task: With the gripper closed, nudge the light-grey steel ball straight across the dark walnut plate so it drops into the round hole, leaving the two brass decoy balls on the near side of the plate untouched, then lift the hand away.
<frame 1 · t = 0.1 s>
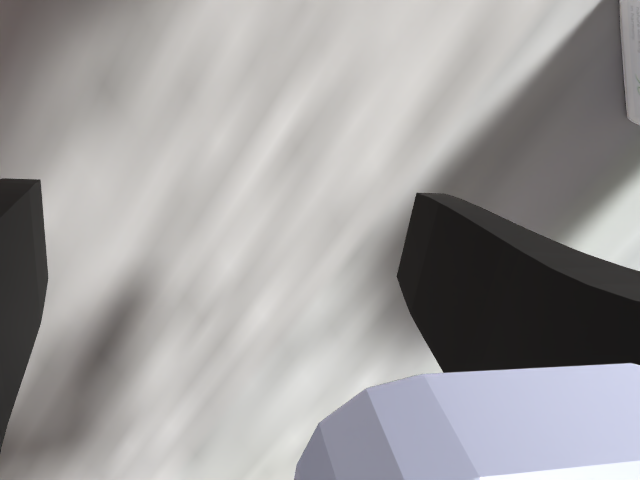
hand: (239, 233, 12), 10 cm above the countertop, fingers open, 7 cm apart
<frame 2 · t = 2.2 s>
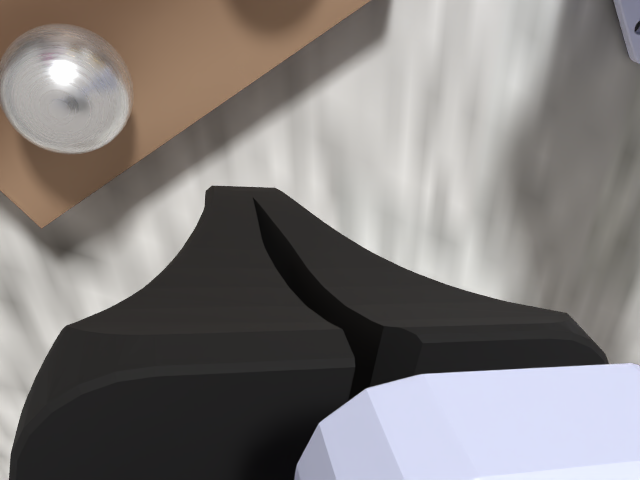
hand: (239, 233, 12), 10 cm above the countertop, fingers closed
steel ball: (67, 90, 15), point 4 cm above the countertop, touching walnut plate
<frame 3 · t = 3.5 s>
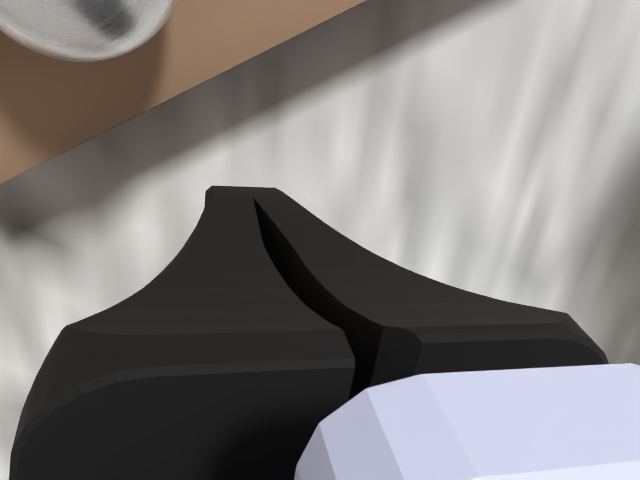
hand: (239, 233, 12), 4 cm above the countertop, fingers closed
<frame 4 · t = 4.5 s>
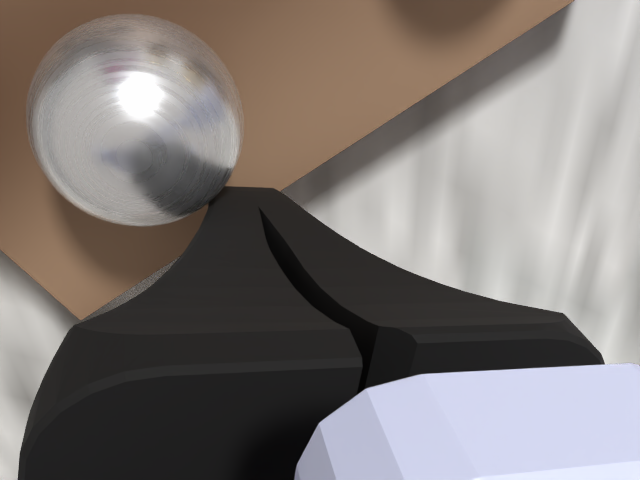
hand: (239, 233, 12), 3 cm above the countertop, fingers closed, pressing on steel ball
steel ball: (140, 123, 9), point 4 cm above the countertop, touching gripper, walnut plate
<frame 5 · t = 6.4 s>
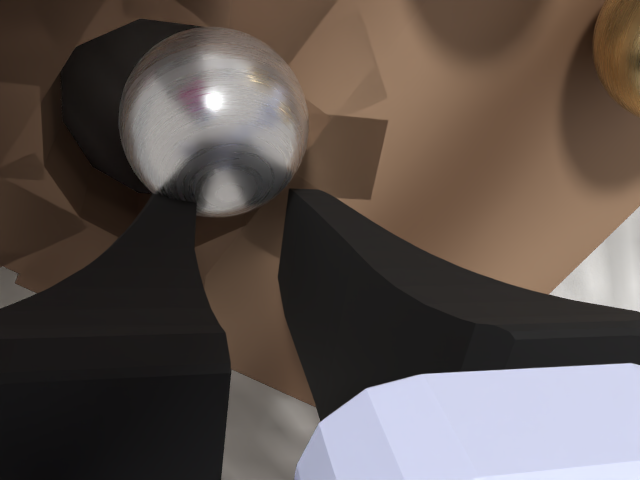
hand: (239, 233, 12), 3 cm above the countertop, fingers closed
steel ball: (216, 124, 11), point 4 cm above the countertop, tilted 158°, touching gripper, walnut plate
walnut plate: (351, 75, 14), on the countertop
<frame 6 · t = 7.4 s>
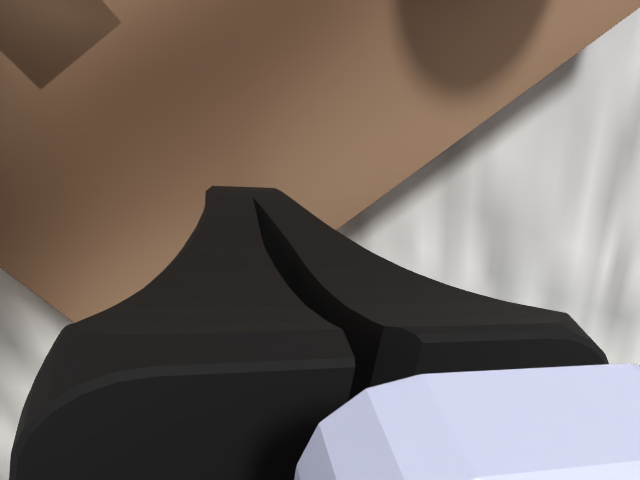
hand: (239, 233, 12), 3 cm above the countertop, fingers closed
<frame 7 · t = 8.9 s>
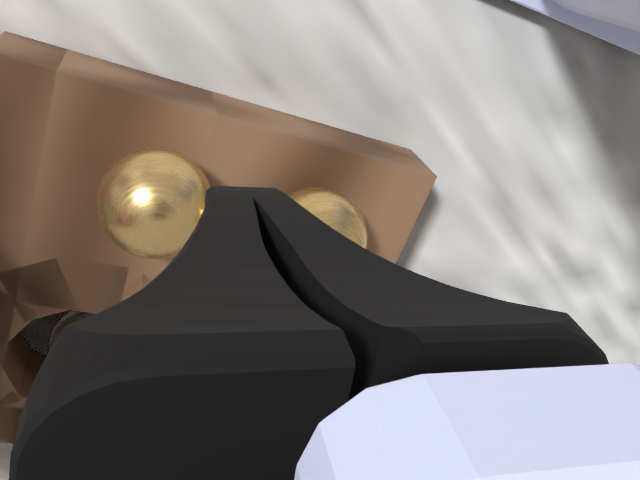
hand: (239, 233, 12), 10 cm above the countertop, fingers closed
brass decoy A: (316, 238, 19), point 4 cm above the countertop, touching walnut plate
brass decoy B: (156, 203, 17), point 4 cm above the countertop, touching walnut plate
steel ball: (97, 345, 22), point 2 cm above the countertop, tilted 139°
walnut plate: (180, 270, 23), on the countertop
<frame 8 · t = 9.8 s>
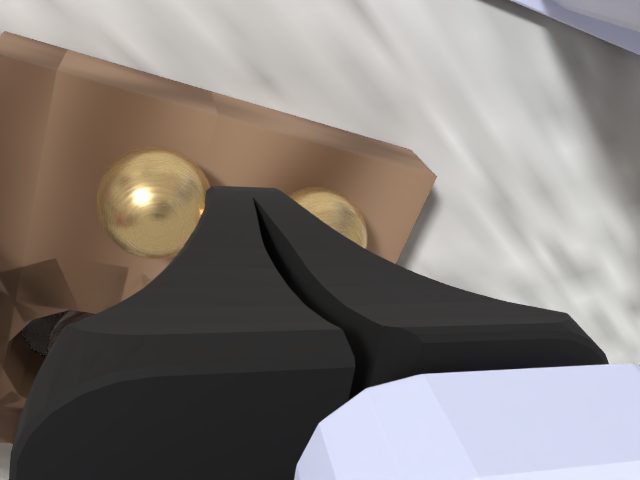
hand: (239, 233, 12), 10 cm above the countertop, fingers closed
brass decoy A: (316, 238, 19), point 4 cm above the countertop, touching walnut plate
brass decoy B: (156, 203, 17), point 4 cm above the countertop, touching walnut plate
steel ball: (96, 346, 22), point 2 cm above the countertop, tilted 139°
walnut plate: (180, 270, 23), on the countertop
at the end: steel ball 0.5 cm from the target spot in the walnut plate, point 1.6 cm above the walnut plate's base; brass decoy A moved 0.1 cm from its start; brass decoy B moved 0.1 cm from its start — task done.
